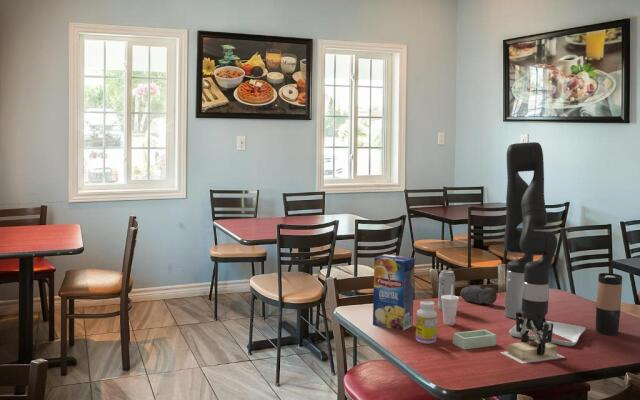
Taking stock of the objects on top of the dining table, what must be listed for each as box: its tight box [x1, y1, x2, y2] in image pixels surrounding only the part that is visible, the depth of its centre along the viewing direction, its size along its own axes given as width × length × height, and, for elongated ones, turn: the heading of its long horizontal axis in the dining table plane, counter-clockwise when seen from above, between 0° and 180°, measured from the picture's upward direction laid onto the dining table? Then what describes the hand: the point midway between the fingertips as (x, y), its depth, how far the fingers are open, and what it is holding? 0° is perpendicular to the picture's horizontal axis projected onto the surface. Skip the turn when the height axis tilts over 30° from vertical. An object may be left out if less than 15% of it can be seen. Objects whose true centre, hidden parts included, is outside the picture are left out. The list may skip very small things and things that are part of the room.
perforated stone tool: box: [459, 285, 498, 306], centre depth 257 cm, size 15×5×7 cm, turn 50°
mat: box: [500, 350, 565, 364], centre depth 194 cm, size 16×10×1 cm, turn 112°
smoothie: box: [441, 285, 460, 326], centre depth 228 cm, size 6×6×14 cm
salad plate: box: [508, 320, 587, 347], centre depth 215 cm, size 21×21×3 cm
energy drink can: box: [437, 269, 456, 312], centre depth 246 cm, size 6×6×15 cm
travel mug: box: [595, 272, 623, 336], centre depth 221 cm, size 8×8×20 cm
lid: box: [507, 340, 558, 361], centre depth 193 cm, size 13×6×4 cm, turn 112°
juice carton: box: [372, 253, 416, 331], centre depth 224 cm, size 12×8×24 cm, turn 56°
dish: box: [452, 329, 497, 350], centre depth 202 cm, size 12×6×4 cm, turn 112°
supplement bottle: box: [415, 300, 438, 345], centre depth 208 cm, size 7×7×13 cm
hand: (532, 351), depth 194 cm, fingers closed on lid, 6 cm apart
